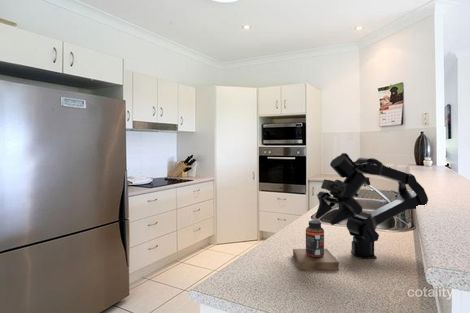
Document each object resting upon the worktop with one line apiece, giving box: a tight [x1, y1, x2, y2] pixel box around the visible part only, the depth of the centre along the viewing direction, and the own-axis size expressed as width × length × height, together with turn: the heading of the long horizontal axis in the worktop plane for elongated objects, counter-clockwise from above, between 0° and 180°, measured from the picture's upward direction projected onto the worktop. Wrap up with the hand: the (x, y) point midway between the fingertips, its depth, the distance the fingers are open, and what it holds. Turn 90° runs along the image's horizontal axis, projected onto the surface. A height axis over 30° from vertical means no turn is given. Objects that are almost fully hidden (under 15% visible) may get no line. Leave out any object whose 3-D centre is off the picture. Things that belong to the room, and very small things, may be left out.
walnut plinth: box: [292, 248, 340, 271], centre depth 95 cm, size 12×12×2 cm
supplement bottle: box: [305, 219, 325, 258], centre depth 95 cm, size 6×6×11 cm
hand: (323, 221), depth 96 cm, fingers open, 9 cm apart
